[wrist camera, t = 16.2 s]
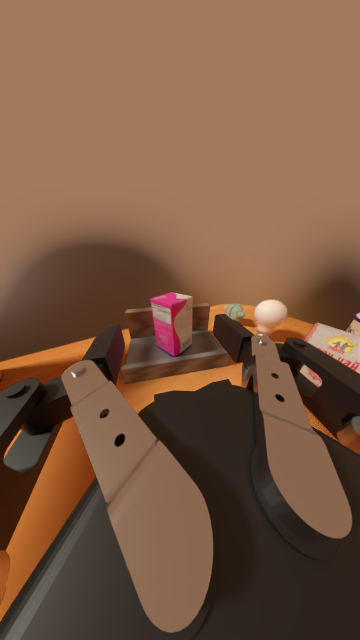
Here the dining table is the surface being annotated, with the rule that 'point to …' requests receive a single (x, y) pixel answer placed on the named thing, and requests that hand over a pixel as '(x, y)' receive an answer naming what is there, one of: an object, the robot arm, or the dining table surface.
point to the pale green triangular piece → (234, 311)
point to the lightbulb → (269, 316)
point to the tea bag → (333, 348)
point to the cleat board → (156, 363)
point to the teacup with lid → (355, 325)
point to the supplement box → (173, 322)
